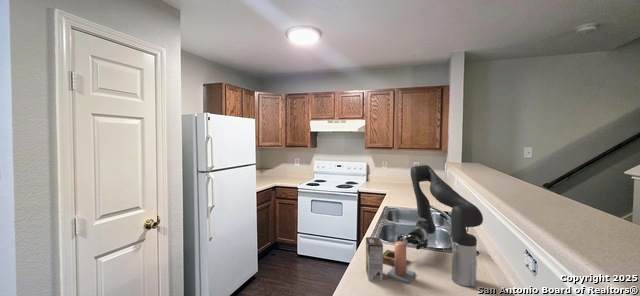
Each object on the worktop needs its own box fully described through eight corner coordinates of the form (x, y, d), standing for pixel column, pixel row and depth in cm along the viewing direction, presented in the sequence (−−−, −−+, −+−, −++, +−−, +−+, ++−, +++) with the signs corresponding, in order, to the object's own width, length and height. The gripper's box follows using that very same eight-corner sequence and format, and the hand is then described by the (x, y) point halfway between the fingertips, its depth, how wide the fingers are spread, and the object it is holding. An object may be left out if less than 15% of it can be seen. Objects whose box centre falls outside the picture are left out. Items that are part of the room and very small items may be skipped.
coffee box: (365, 270, 129) (365, 236, 128) (379, 270, 129) (379, 237, 128) (368, 280, 120) (368, 244, 119) (383, 281, 120) (383, 244, 119)
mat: (415, 274, 126) (415, 272, 126) (408, 283, 118) (408, 281, 118) (393, 268, 132) (393, 266, 131) (386, 277, 123) (386, 274, 123)
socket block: (406, 260, 140) (406, 254, 140) (399, 267, 132) (399, 261, 132) (387, 255, 146) (387, 249, 146) (379, 262, 138) (379, 256, 138)
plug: (407, 273, 125) (407, 242, 124) (404, 277, 121) (404, 246, 120) (396, 270, 128) (396, 240, 127) (393, 274, 124) (393, 244, 123)
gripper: (404, 226, 150) (393, 234, 137) (431, 231, 142) (423, 241, 128) (404, 239, 150) (393, 249, 137) (431, 245, 142) (423, 256, 129)
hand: (408, 245), depth 133 cm, fingers open, 8 cm apart
